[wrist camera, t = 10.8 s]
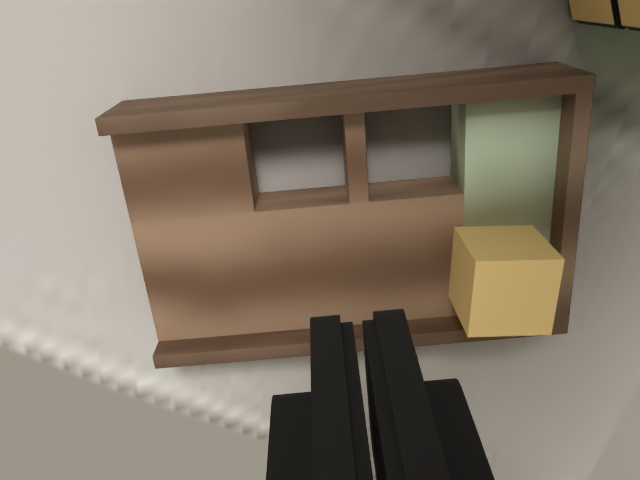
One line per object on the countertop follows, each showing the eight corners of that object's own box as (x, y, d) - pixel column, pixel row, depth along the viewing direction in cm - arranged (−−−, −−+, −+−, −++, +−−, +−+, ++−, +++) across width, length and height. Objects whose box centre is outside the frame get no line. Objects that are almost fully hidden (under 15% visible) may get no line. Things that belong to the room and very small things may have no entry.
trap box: (122, 100, 31) (94, 118, 27) (555, 61, 30) (595, 74, 26) (171, 325, 36) (155, 368, 32) (537, 293, 36) (567, 333, 32)
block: (454, 227, 31) (475, 261, 27) (532, 224, 31) (564, 259, 27) (448, 295, 33) (467, 337, 29) (522, 293, 33) (551, 334, 29)
